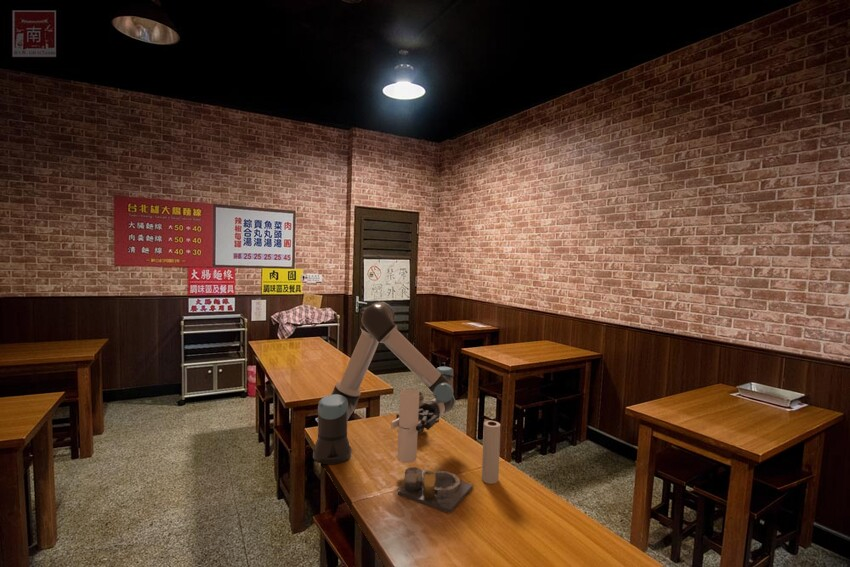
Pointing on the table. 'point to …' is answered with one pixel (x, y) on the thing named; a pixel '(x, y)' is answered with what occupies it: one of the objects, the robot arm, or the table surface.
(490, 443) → the paper towel roll
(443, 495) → the carrier
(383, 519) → the table surface
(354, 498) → the table surface
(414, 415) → the cylindrical container
